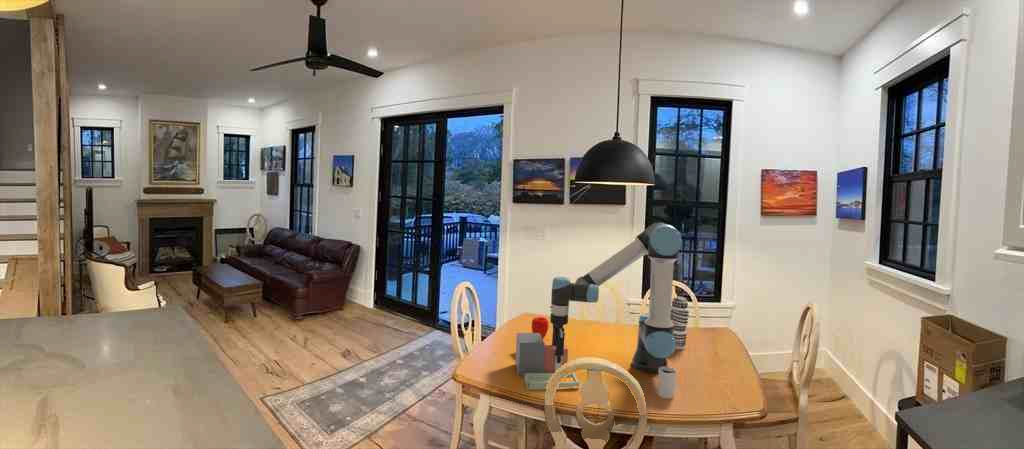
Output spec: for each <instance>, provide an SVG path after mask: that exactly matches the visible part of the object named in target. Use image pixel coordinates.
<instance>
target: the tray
mask: <svg viewBox="0 0 1024 449" xmlns="http://www.w3.org/2000/svg"><path fill="white" fill-rule="evenodd" d="M554 373H555V372H543V373H525V375H524V376H523V377H524V380H523V381H524V383H525V386H526V389H527V390H547V389H546V386H547V384H548V380H549V378H550V377H551V376H552V375H553V374H554ZM571 373H572V374H570V375H568V376H567V377H566V378H570V377H572V378H573V380H574V382H561V383H560V384H559V388H561V387H573V386H579V387H580V381H579V380H578V379H577V377H576V374H575V373H574V372H571Z"/></svg>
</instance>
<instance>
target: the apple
mask: <svg viewBox="0 0 1024 449" xmlns="http://www.w3.org/2000/svg"><path fill="white" fill-rule="evenodd" d="M549 326H550V324H549V320H548V319H547V318H546V317H541V316H540V317H537V316H536V317H534V318H533V319H532V320H531V331H532V332H531V333H540V335H541V337H542V339H544V338H545V337H546V336H547V334H548V330H549Z"/></svg>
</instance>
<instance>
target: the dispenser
mask: <svg viewBox="0 0 1024 449" xmlns="http://www.w3.org/2000/svg"><path fill="white" fill-rule="evenodd" d="M515 343H516V344H515V367H516V368H515V369H516V371H517V375H518V377H524V375H525V373H544V372H543V362H544V347H545V345H546V343H545V341H544V338H542V337H541V335H540V333H533V332H516V342H515Z"/></svg>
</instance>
